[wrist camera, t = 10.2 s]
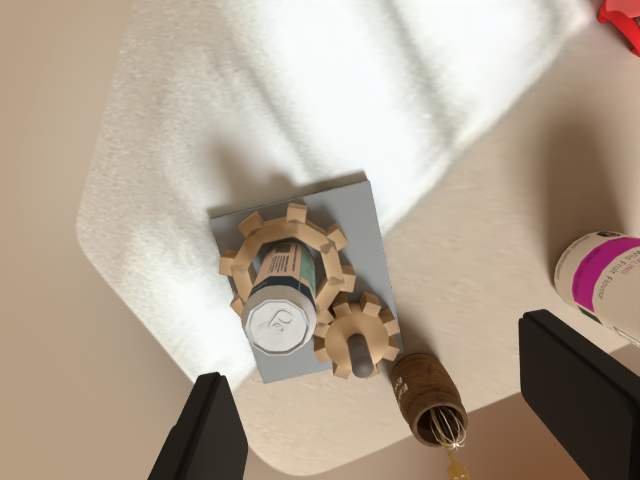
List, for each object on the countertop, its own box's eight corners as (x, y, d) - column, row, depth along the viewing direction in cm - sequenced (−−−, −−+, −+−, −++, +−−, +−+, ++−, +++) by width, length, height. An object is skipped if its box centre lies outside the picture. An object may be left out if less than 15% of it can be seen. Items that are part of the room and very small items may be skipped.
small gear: (299, 309, 34) (296, 346, 28) (376, 277, 33) (392, 308, 27) (332, 375, 36) (336, 423, 30) (405, 346, 35) (426, 389, 29)
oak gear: (211, 221, 31) (203, 228, 29) (335, 191, 31) (337, 195, 28) (248, 332, 34) (243, 346, 32) (361, 305, 34) (365, 318, 31)
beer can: (253, 269, 33) (222, 336, 21) (282, 229, 32) (266, 276, 20) (295, 296, 33) (287, 375, 22) (324, 258, 33) (332, 319, 21)
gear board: (212, 218, 32) (208, 220, 31) (368, 179, 32) (369, 180, 31) (265, 377, 37) (263, 384, 36) (402, 346, 36) (404, 352, 35)
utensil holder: (437, 344, 36) (496, 436, 25) (449, 392, 38) (510, 499, 26) (383, 359, 37) (417, 457, 25) (398, 406, 38) (435, 518, 27)
